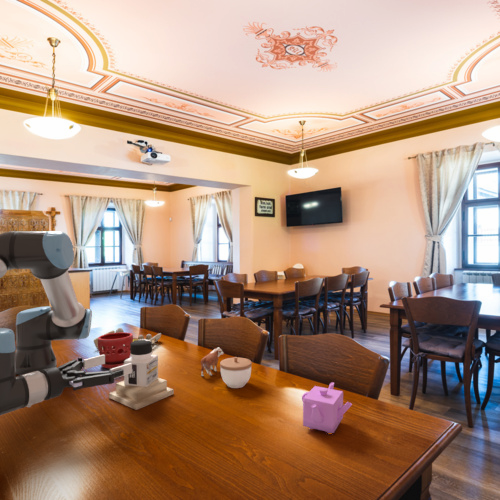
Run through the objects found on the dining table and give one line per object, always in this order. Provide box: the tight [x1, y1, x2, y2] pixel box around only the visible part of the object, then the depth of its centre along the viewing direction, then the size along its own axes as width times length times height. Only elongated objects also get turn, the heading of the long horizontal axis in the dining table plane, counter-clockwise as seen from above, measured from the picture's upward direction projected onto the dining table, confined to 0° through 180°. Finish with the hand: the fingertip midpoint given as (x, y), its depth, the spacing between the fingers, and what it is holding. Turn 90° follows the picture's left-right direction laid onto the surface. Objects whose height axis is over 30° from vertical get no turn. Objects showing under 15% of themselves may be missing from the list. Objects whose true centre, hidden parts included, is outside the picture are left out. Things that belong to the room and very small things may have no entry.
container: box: [123, 338, 159, 387], centre depth 114 cm, size 8×8×13 cm
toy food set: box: [93, 327, 162, 350], centre depth 172 cm, size 25×18×8 cm
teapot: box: [301, 381, 353, 434], centre depth 95 cm, size 18×13×10 cm
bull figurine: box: [200, 347, 224, 377], centre depth 136 cm, size 4×13×8 cm, turn 155°
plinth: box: [108, 377, 174, 411], centre depth 114 cm, size 14×14×4 cm
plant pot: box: [97, 332, 134, 370], centre depth 144 cm, size 13×13×12 cm
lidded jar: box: [219, 356, 253, 389], centre depth 123 cm, size 11×11×9 cm
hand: (117, 363), depth 107 cm, fingers open, 13 cm apart
